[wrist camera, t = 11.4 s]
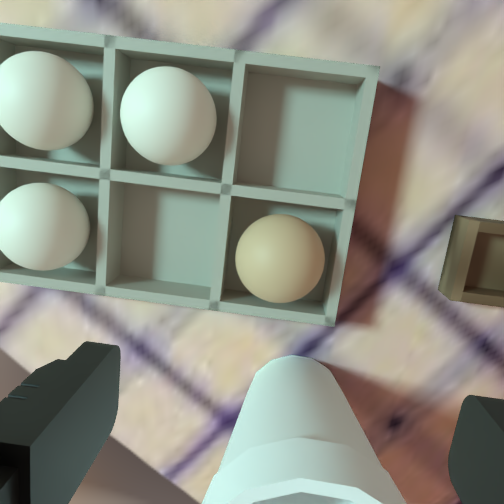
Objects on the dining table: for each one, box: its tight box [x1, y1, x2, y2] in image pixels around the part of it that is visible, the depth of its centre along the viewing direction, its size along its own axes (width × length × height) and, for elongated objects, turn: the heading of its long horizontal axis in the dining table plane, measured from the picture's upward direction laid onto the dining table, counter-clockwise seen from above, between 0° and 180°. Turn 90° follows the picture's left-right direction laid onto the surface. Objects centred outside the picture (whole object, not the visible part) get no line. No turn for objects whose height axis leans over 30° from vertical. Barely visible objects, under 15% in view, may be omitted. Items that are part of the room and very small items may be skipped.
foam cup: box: [202, 355, 407, 504], centre depth 23 cm, size 10×9×13 cm
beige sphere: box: [235, 214, 325, 303], centre depth 24 cm, size 5×5×5 cm
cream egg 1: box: [0, 51, 94, 150], centre depth 23 cm, size 5×5×5 cm
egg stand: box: [438, 215, 504, 307], centre depth 25 cm, size 5×5×2 cm
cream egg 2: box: [0, 183, 90, 271], centre depth 24 cm, size 5×5×5 cm
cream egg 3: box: [120, 66, 217, 166], centre depth 23 cm, size 5×5×5 cm
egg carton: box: [0, 23, 380, 326], centre depth 25 cm, size 14×21×3 cm
